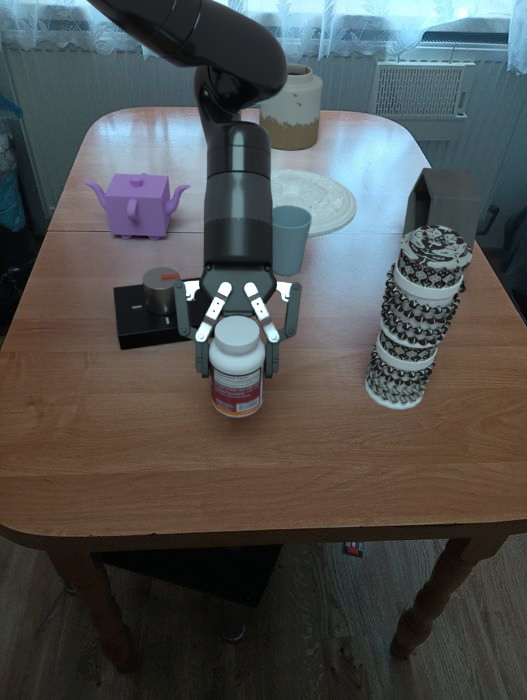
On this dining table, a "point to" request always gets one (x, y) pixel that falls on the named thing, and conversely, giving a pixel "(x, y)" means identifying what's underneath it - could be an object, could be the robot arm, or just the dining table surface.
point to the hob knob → (160, 290)
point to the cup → (289, 238)
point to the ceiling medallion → (314, 198)
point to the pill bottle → (237, 367)
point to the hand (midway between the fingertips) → (237, 377)
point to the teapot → (138, 204)
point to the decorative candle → (416, 314)
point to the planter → (444, 203)
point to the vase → (294, 110)
